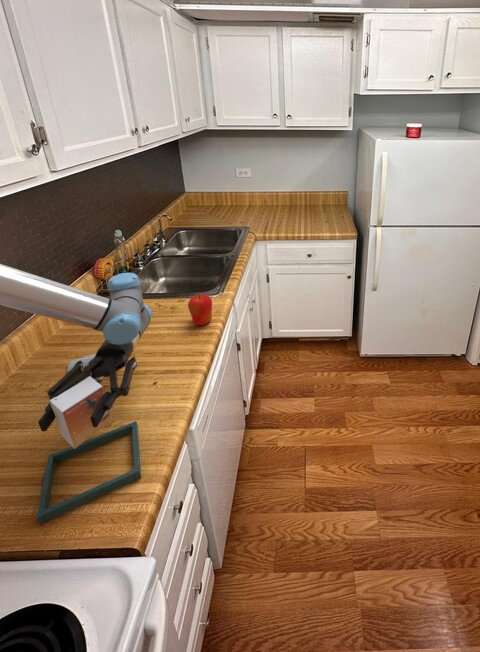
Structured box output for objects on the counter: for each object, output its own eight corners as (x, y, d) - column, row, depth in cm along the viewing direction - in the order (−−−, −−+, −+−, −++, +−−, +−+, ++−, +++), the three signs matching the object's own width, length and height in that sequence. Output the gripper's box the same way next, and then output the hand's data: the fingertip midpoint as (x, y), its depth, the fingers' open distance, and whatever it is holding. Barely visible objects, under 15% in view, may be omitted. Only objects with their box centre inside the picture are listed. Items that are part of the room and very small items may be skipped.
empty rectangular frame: (39, 524, 65) (36, 517, 64) (51, 461, 77) (48, 455, 76) (141, 477, 74) (139, 471, 73) (138, 427, 85) (136, 420, 84)
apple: (187, 321, 126) (183, 294, 121) (208, 312, 131) (204, 286, 127) (196, 332, 120) (192, 304, 115) (218, 322, 125) (215, 295, 121)
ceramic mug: (75, 374, 101) (68, 354, 98) (106, 366, 104) (100, 347, 101) (65, 402, 92) (57, 381, 89) (99, 393, 95) (93, 373, 92)
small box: (74, 450, 69) (60, 413, 65) (61, 436, 71) (47, 400, 68) (113, 420, 75) (103, 385, 71) (100, 409, 78) (89, 374, 74)
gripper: (70, 338, 85) (2, 415, 64) (158, 333, 87) (121, 406, 66) (78, 361, 88) (15, 442, 67) (163, 355, 90) (128, 432, 69)
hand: (68, 424), depth 66 cm, fingers closed on small box, 9 cm apart
